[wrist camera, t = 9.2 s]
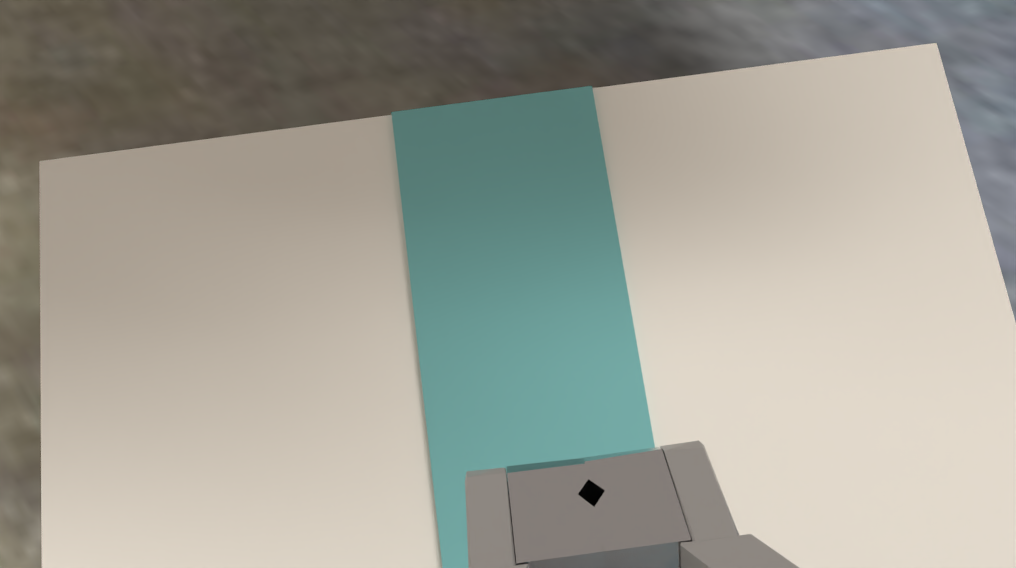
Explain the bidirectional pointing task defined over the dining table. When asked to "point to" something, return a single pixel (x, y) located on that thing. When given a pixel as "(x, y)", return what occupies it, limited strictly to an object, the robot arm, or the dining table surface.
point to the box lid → (533, 322)
